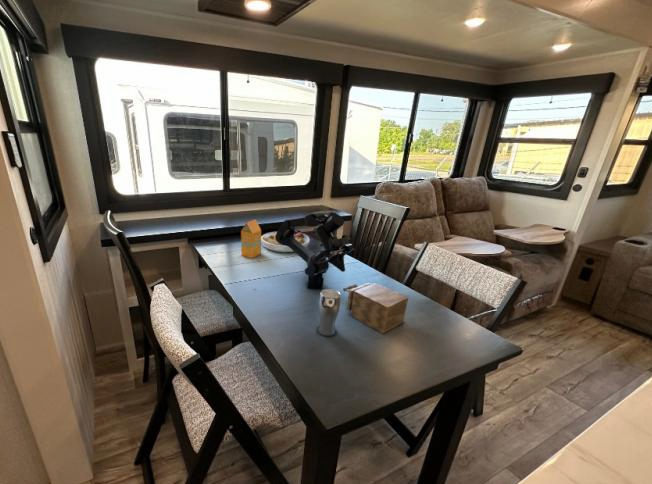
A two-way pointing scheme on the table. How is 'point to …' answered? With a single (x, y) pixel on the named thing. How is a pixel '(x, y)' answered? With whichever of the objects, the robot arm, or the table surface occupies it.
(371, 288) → the wooden box
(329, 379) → the table surface
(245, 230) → the orange juice
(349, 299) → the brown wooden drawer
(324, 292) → the beer glass
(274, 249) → the bowl
